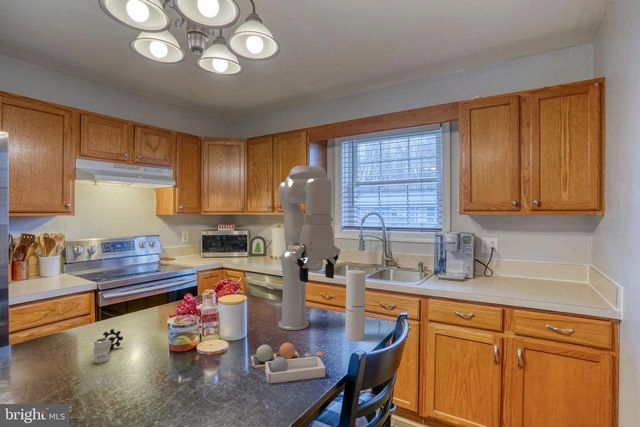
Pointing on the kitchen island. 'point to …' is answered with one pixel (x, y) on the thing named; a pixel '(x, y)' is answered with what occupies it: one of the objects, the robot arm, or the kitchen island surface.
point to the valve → (105, 346)
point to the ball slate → (279, 365)
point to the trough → (297, 370)
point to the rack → (264, 364)
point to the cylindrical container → (355, 305)
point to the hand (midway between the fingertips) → (317, 279)
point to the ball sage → (264, 353)
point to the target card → (316, 354)
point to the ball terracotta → (287, 351)
